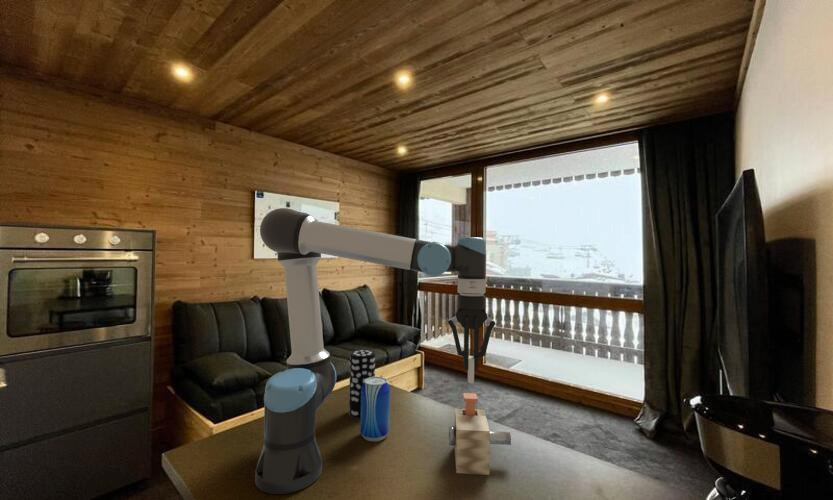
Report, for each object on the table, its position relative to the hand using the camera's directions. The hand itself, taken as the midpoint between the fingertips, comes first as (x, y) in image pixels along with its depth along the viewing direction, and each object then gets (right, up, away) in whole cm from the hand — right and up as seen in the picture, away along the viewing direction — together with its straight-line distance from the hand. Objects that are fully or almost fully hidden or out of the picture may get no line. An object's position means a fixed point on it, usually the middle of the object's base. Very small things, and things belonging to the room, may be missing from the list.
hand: (470, 381), depth 97 cm
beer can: (-27, -19, +8) cm, 34 cm away
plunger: (0, -12, 0) cm, 12 cm away
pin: (+2, -15, -4) cm, 16 cm away
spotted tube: (-33, -19, +22) cm, 44 cm away
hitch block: (-1, -19, -4) cm, 19 cm away
